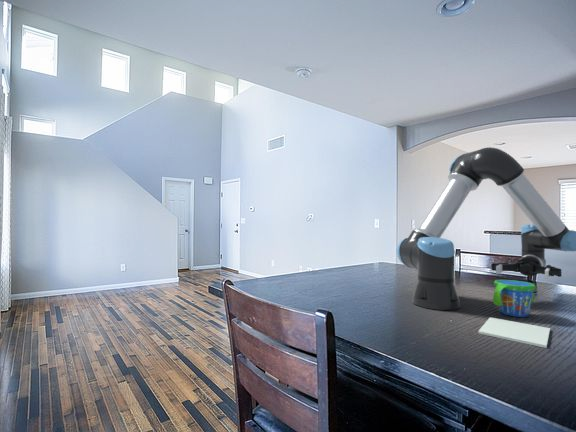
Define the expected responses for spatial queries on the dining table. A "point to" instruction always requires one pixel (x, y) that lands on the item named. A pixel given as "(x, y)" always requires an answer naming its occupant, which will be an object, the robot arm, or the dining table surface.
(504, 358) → the dining table surface
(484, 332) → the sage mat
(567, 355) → the dining table surface
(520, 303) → the snack cup
